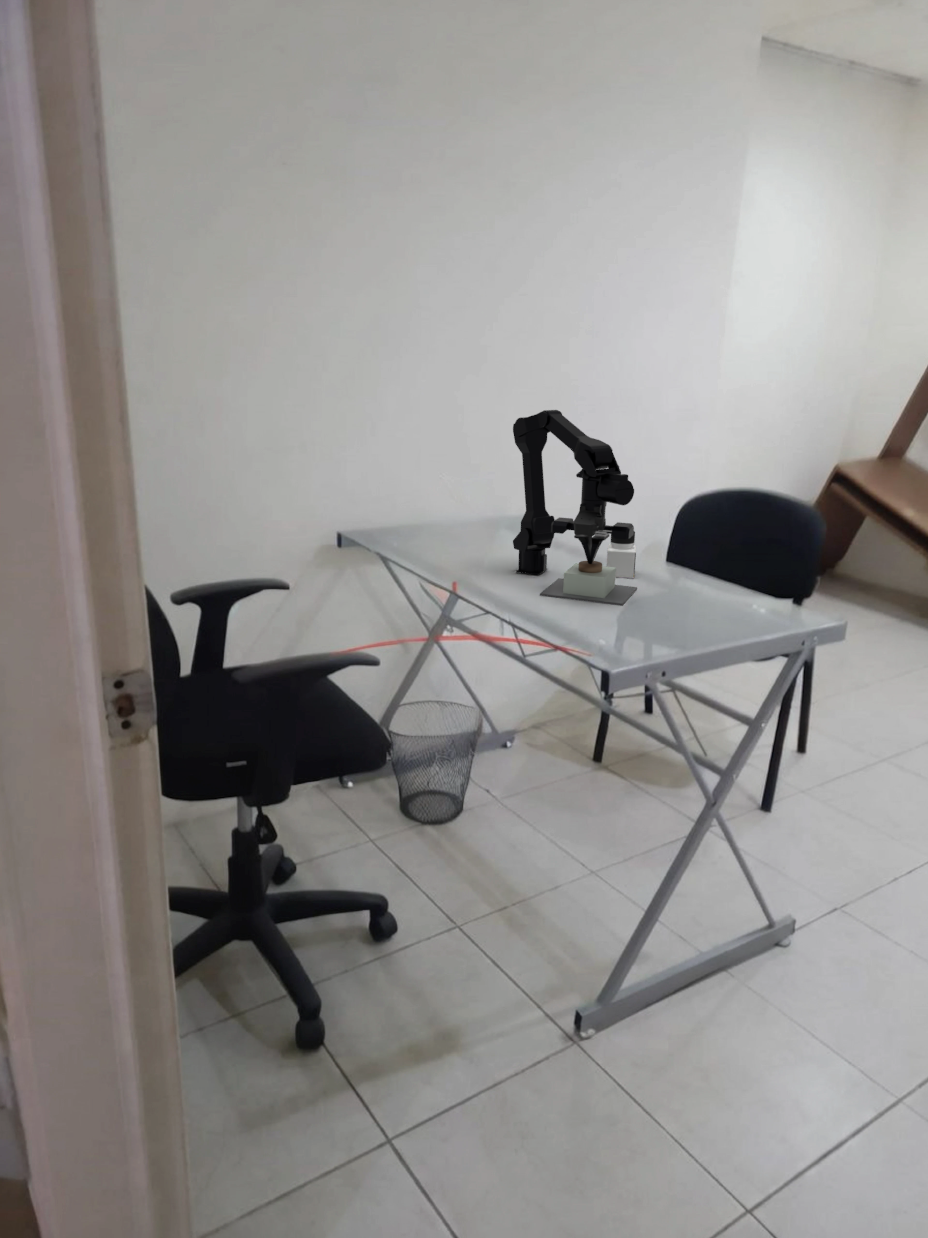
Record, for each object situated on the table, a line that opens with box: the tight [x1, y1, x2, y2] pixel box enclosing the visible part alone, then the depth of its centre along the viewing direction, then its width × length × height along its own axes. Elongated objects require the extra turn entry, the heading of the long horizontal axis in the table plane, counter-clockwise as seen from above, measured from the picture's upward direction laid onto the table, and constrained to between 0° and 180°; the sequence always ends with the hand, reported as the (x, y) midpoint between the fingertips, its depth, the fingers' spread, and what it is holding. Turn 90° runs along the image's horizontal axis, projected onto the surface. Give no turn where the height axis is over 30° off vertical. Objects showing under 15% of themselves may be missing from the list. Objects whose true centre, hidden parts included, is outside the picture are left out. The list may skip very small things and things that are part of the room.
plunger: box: [578, 560, 603, 573], centre depth 207 cm, size 6×6×6 cm
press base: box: [539, 562, 638, 606], centre depth 207 cm, size 20×15×6 cm
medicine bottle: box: [606, 531, 637, 579], centre depth 222 cm, size 7×7×12 cm
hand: (590, 563), depth 206 cm, fingers closed, pressing on plunger
